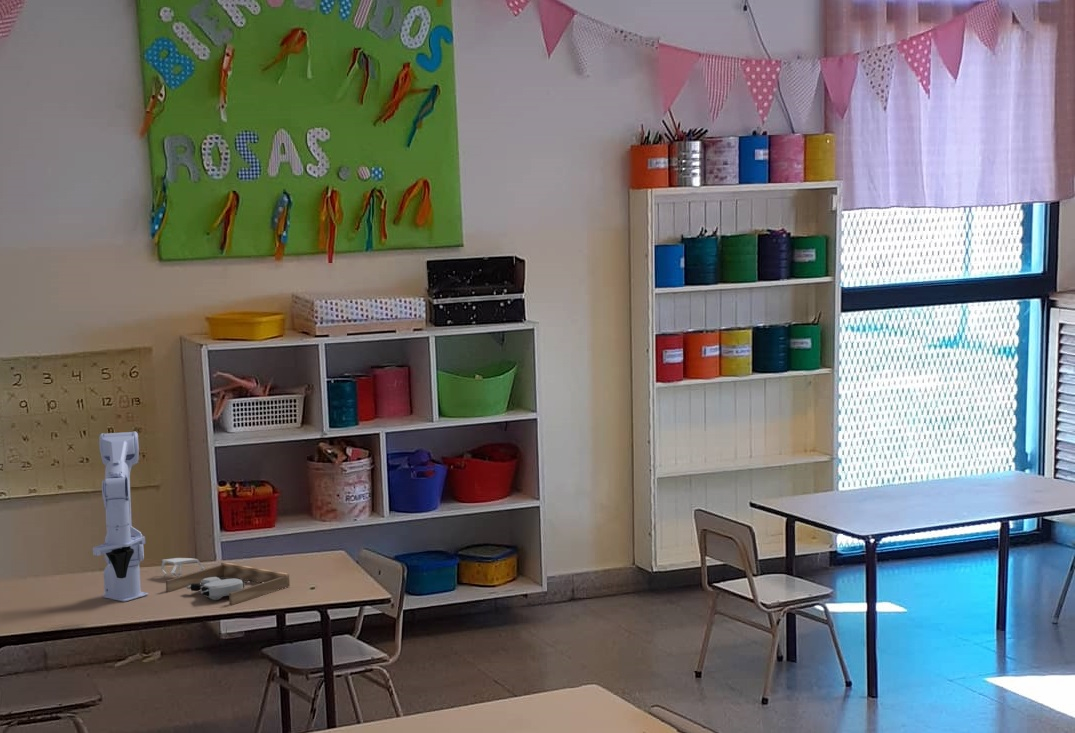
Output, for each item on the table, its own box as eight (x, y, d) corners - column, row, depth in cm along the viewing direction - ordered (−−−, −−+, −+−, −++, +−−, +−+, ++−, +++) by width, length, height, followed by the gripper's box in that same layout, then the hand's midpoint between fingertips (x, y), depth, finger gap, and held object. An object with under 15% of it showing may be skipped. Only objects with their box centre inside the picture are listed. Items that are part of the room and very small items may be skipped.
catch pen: (166, 591, 371) (165, 578, 371) (224, 574, 388) (223, 562, 387) (232, 605, 356) (231, 591, 356) (289, 586, 373) (289, 573, 372)
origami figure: (160, 582, 381) (159, 565, 381) (161, 575, 389) (160, 558, 389) (204, 579, 384) (203, 561, 383) (205, 571, 392) (204, 554, 391)
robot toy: (184, 597, 368) (209, 604, 357) (182, 581, 368) (208, 587, 356) (226, 589, 376) (252, 595, 364) (224, 572, 376) (250, 578, 364)
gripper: (104, 532, 338) (107, 586, 340) (151, 520, 350) (154, 573, 351) (86, 529, 342) (89, 582, 344) (133, 518, 354) (136, 569, 356)
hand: (121, 577), depth 348 cm, fingers closed
